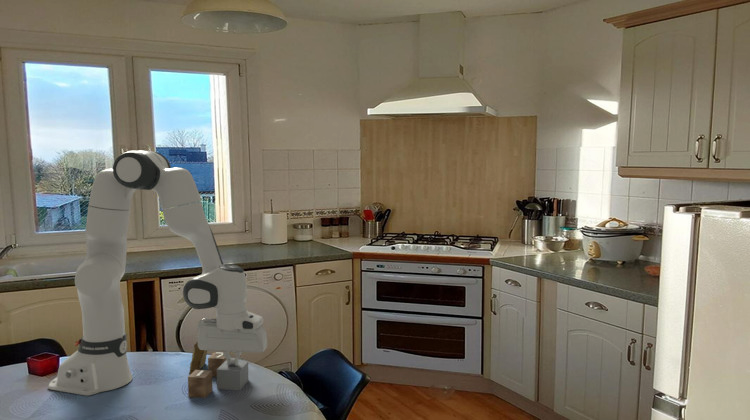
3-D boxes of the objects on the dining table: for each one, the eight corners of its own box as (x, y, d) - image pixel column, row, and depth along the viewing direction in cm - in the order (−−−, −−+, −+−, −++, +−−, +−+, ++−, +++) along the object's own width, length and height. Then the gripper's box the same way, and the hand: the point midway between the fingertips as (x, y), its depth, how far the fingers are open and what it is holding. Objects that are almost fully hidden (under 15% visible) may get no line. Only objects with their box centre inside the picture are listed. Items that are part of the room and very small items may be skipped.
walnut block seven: (208, 376, 167) (207, 357, 166) (214, 370, 172) (214, 351, 171) (224, 377, 166) (223, 358, 166) (230, 371, 171) (229, 352, 170)
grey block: (217, 389, 158) (216, 369, 158) (226, 379, 165) (225, 360, 165) (240, 390, 157) (239, 370, 157) (248, 380, 164) (248, 361, 164)
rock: (200, 371, 165) (221, 355, 174) (184, 348, 166) (206, 334, 174) (181, 385, 170) (202, 369, 179) (166, 362, 170) (188, 348, 179)
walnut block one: (188, 397, 153) (187, 376, 152) (195, 389, 158) (195, 369, 157) (205, 398, 152) (205, 377, 152) (212, 390, 157) (212, 369, 157)
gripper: (193, 321, 157) (194, 367, 159) (261, 324, 155) (262, 370, 157) (202, 314, 163) (203, 359, 165) (268, 317, 161) (268, 362, 163)
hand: (232, 364), depth 161 cm, fingers closed
